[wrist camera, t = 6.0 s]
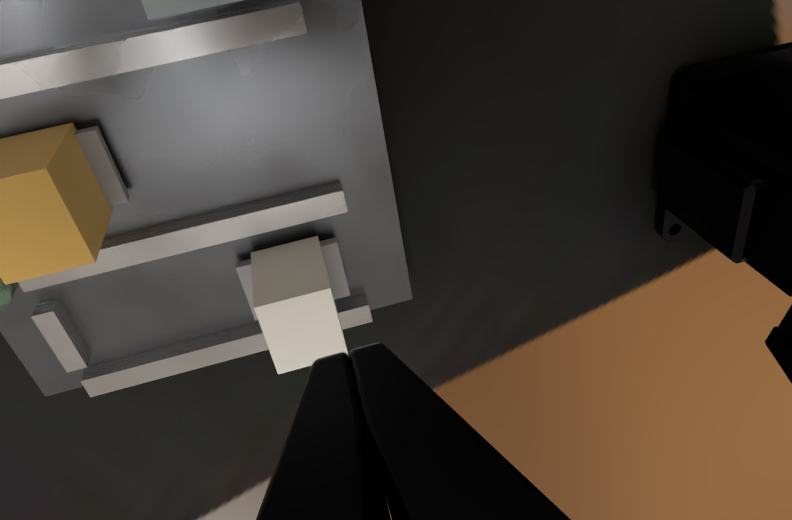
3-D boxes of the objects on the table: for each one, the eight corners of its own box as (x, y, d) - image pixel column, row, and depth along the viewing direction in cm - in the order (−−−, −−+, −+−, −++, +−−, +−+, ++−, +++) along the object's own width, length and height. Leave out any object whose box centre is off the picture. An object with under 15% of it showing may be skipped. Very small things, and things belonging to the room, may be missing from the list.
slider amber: (93, 118, 15) (71, 162, 13) (132, 203, 16) (118, 256, 14) (-34, 146, 15) (-81, 197, 12) (16, 231, 16) (-19, 290, 14)
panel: (313, -224, 14) (327, -238, 12) (401, 274, 22) (420, 317, 20) (-262, -125, 12) (-359, -122, 10) (56, 364, 20) (37, 420, 18)
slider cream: (334, 231, 18) (349, 283, 16) (349, 295, 19) (365, 350, 17) (233, 256, 18) (234, 313, 16) (256, 319, 19) (260, 379, 17)
